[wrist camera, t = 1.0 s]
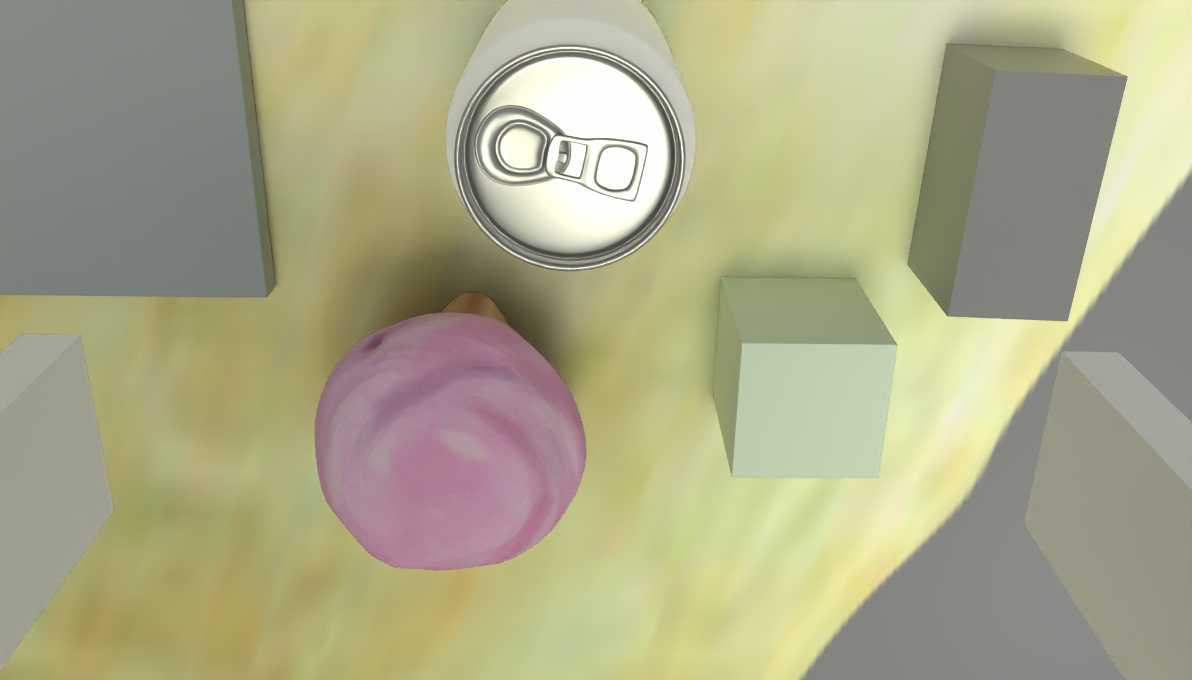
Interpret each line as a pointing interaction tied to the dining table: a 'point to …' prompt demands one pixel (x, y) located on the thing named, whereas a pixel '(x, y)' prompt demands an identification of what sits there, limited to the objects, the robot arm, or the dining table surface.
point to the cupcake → (448, 440)
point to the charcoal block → (1012, 179)
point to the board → (130, 151)
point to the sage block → (801, 378)
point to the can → (571, 132)
